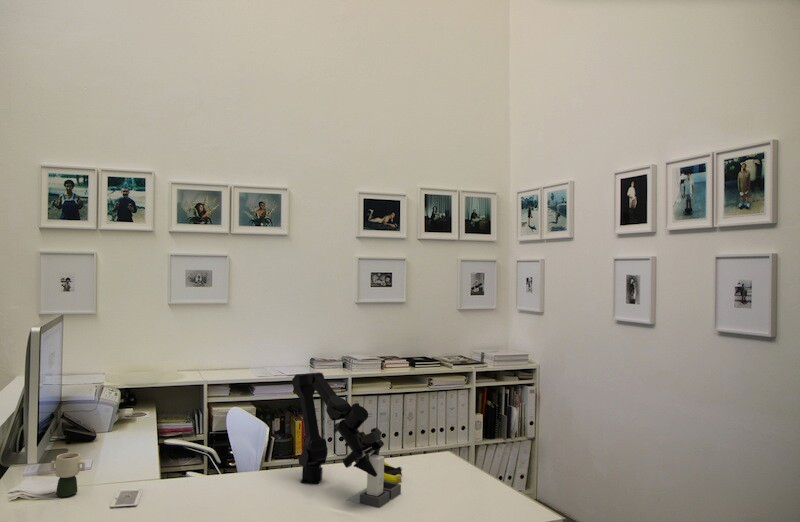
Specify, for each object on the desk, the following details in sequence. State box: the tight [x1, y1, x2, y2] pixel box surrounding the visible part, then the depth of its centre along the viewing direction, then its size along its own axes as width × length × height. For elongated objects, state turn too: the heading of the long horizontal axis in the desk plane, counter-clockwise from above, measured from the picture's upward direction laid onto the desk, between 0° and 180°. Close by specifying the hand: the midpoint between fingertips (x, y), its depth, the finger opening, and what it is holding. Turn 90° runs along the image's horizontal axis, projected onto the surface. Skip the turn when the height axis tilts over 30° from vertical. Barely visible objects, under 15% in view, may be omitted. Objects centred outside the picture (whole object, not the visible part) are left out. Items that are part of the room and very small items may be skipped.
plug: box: [366, 454, 385, 496], centre depth 208 cm, size 4×4×12 cm
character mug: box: [50, 452, 86, 498], centre depth 207 cm, size 11×7×13 cm, turn 95°
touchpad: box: [110, 488, 144, 508], centre depth 205 cm, size 8×15×2 cm, turn 15°
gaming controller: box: [384, 461, 403, 484], centre depth 232 cm, size 15×6×10 cm
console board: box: [345, 481, 402, 509], centre depth 213 cm, size 13×16×4 cm
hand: (379, 474), depth 207 cm, fingers closed on plug, 4 cm apart
